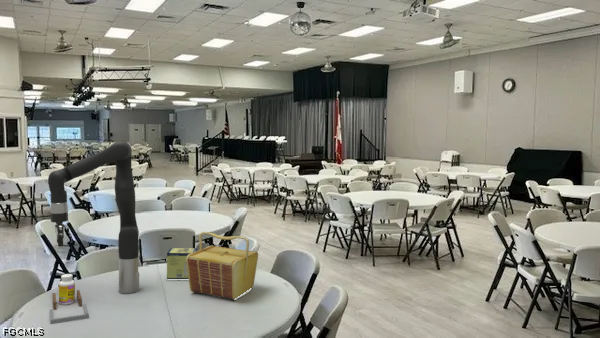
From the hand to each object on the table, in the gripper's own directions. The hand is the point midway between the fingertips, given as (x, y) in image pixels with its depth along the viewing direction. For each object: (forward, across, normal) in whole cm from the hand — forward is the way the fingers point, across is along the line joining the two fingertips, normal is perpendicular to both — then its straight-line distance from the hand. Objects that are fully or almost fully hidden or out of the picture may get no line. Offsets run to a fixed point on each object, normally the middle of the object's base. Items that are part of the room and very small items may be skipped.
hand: (60, 244), depth 223 cm
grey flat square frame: (+24, -31, -1) cm, 40 cm away
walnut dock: (+24, -16, -1) cm, 29 cm away
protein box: (+26, -1, -60) cm, 65 cm away
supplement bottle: (+24, -15, -1) cm, 29 cm away
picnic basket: (+26, -32, -71) cm, 82 cm away
